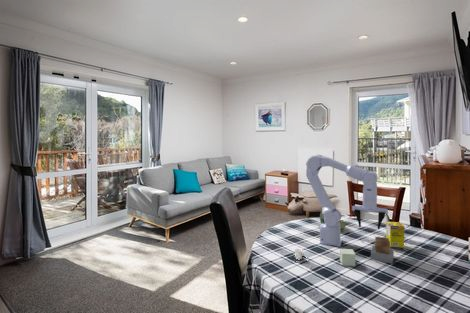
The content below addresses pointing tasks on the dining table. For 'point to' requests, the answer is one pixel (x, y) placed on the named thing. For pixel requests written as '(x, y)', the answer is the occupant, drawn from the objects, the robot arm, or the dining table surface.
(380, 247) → the walnut cube
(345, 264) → the sage cube
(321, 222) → the vegetable
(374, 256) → the pedestal block
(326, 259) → the dining table surface
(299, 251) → the white lumpy piece
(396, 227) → the supplement box
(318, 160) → the robot arm
